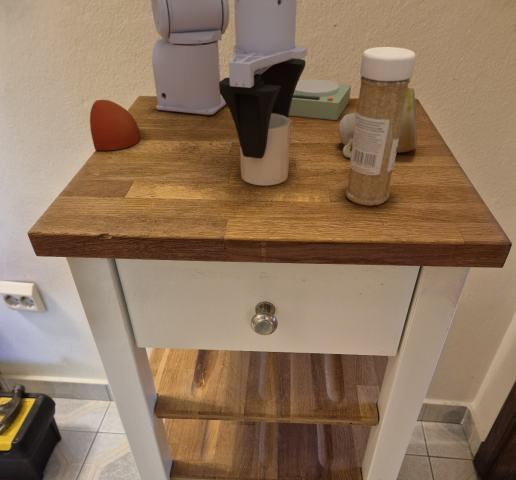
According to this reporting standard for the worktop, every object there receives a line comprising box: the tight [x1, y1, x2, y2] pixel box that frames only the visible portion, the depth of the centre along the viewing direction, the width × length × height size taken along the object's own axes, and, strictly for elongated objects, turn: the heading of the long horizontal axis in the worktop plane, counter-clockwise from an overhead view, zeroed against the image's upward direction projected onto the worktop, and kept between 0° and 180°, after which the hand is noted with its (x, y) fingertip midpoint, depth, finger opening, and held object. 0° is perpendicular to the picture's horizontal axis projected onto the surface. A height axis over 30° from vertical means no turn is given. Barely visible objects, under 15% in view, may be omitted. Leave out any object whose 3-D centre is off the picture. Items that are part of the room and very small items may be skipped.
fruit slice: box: [89, 99, 141, 152], centre depth 62 cm, size 8×7×5 cm
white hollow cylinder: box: [239, 113, 291, 187], centre depth 52 cm, size 5×5×6 cm
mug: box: [338, 87, 418, 159], centre depth 58 cm, size 8×10×10 cm
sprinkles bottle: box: [345, 46, 416, 207], centre depth 45 cm, size 5×5×14 cm
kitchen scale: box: [288, 78, 352, 121], centre depth 72 cm, size 10×10×3 cm
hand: (264, 144), depth 52 cm, fingers open, 7 cm apart
